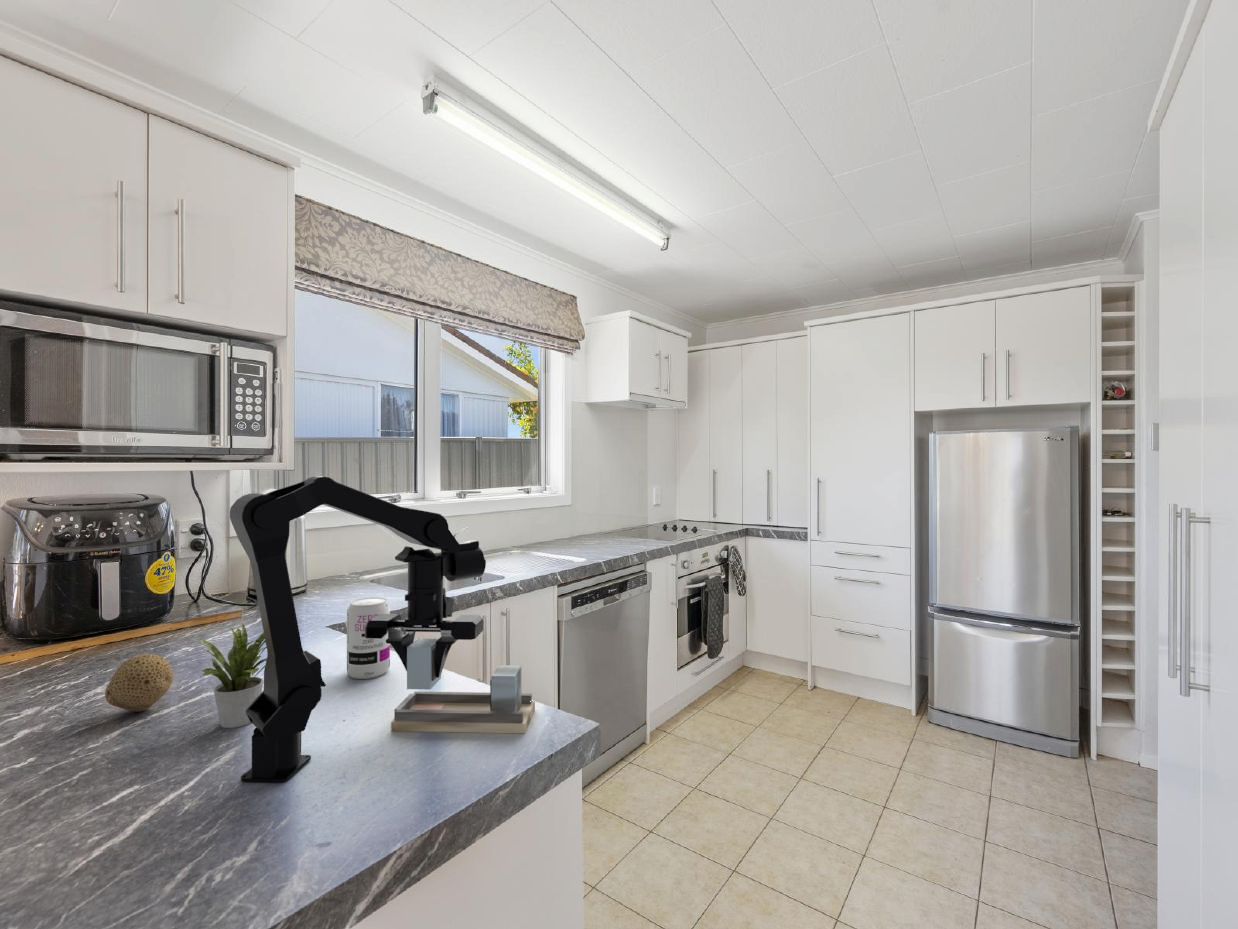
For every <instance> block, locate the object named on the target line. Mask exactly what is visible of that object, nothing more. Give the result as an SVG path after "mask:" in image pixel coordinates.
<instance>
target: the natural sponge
mask: <svg viewBox="0 0 1238 929" xmlns="http://www.w3.org/2000/svg"><path fill="white" fill-rule="evenodd" d="M172 668H173V667H172V666H171V664H170V663H169V662H168V660H167V659H165V658H163V657H162V656H160V655H158V654H151V653H141V654H137V655H134V656H131V657H130V658H128V659H126V660H125V661H124V662H123V663H121V665H119V667H118V668H117V669H116V671H114V673H113V675H112V677H111V679H110V681H109V682H108V684H107V686H106V688H105V691H104V697H105V700H106V702H107V703H108V704H109V705H111V706H113V707H117V708H120V709H123V710H126V711H129V712H135V713H140V712H144V711H146V710H148V709H150V708H151V707H152V706H154V704H156V702H158V701H159V700H160V699H161V698H162V697H163V696H164V695H165V694H166V693H167V692H168V691H169V689H170V687H171V686H172V684H173V683H174V681H173V680H174V673H173V669H172Z"/></svg>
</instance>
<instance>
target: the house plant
mask: <svg viewBox="0 0 1238 929" xmlns="http://www.w3.org/2000/svg"><path fill="white" fill-rule="evenodd" d="M229 629H230V630H231V633H232V635H233V641H232V642H233V643H232V647H231V649H229V651H228V653H227V660H228V661H227V660H226V658H225V656H224V655H223V653H222V652H221V651H220V650H219V649H218V648H217V646H215V645H214V644H213V643H211V642H209V641H207V640H205V639H202V638H196V637H195V638H194V639H196V640H198V641H200V642H201V643H203V644H204V645H205V646H206V647H207V648H208V649H209V650H208V649H206V648H202V647H201V649H202V650H203V651H206V653H207V652H208V653H209V654H210V655H211V656H212V657H211V661H212V666H213V668H211V667H209V668H208V667H207V668H203V669H201V671H202V672H203V674H202V675H201V677H203V676H204V677H205V676H208V675H211V676H214V677H216V678H217V679H218V680H219V681H220V682H221V683H219V684H217V685H215V686H214V688H213V693H214V699H215V703H216V709H217V715H218V719H219V724H220V725H219V726H220V727H222V728H224V729H226V728H227V729H234V728H235V729H236V728H240V727H243V726H246V725H249V724H252V723H251V722H250V721H249V718H248V716H247V714H246V709H247V708H248V707H249V706H250V705H251V704H252V703H253V702H254V700H255V699H256V698H257V697H258V696H259V695H260V694H261V693H262V692H263V688H264V678H261V677H258V676H257V675H258V674H259V673H260V672H261V671H263V670H264V669H265V665H264V666H263V667H261V668H259V667H258V666H259V665H261V664H262V663H264V662H266V660H267V657H266V658H264V659H261V660H260V658H262V656H261V655H262V654H263V652H265V650H267V647H266V646H265V647H263V645H265V644H266V641H265V636H264V631H262V633H261V634H260V635H259V636H258V637H257V638H256V639H254V640H252V641H250V642H248V641H249V638H248V632H247V630H246V626H245V625H244V623H243V622H242V623H241V629H240V627H237V629H236V630H235V631H234V629H233V628H232V627H231V626H229ZM217 660H218V661H219V663H220V664H219V663H218V662H217ZM258 660H260V661H258ZM257 661H258V662H257ZM221 666H222V667H223V668H224V669H223V668H222V667H221ZM259 669H260V670H259ZM224 670H225V671H224ZM254 674H255V675H254Z"/></svg>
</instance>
